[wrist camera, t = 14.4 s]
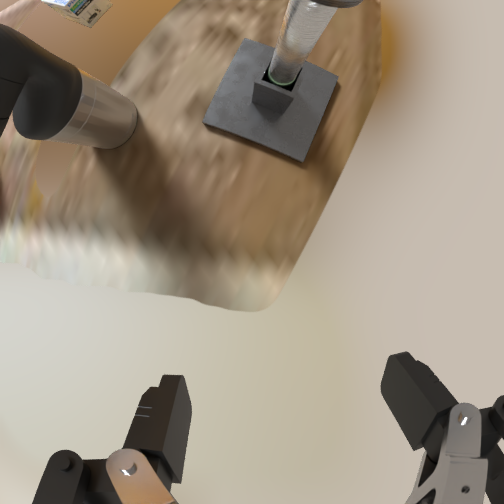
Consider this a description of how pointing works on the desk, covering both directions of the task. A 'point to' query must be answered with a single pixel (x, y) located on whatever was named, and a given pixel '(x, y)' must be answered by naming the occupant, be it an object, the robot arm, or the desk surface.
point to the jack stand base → (270, 102)
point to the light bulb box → (80, 10)
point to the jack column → (300, 36)
